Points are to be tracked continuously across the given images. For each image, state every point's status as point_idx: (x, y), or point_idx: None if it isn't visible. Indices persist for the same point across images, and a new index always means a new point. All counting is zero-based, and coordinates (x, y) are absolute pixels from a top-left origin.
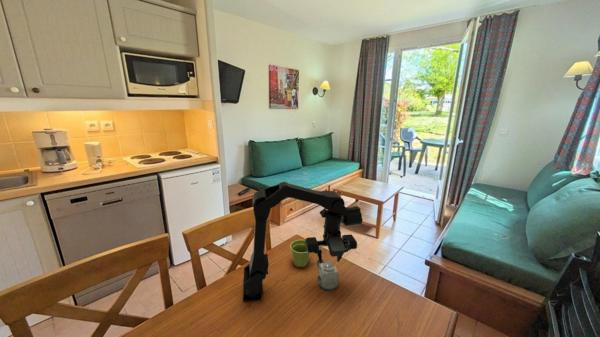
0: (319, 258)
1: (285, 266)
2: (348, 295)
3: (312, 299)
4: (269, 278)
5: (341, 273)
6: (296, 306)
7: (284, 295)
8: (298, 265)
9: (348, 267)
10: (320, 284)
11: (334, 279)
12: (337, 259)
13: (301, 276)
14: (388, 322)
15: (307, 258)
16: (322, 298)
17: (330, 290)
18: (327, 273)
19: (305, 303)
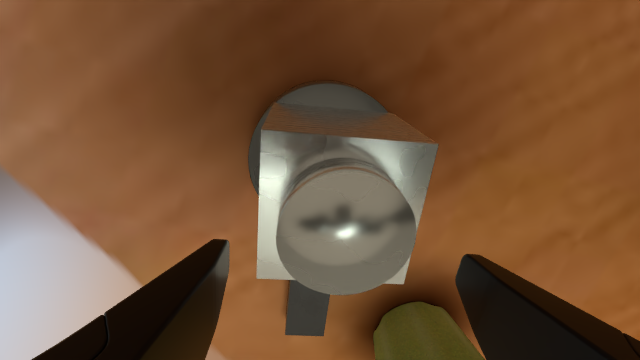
0: (597, 320)
1: None
2: (213, 6)
3: (483, 44)
4: (624, 258)
5: (194, 214)
6: (610, 14)
7: (623, 124)
8: (445, 313)
9: (126, 252)
10: None
11: (300, 114)
12: (223, 277)
13: (455, 239)
14: None
15: (405, 351)
16: (414, 33)
17: (334, 81)
18: (392, 140)
19: (543, 22)
